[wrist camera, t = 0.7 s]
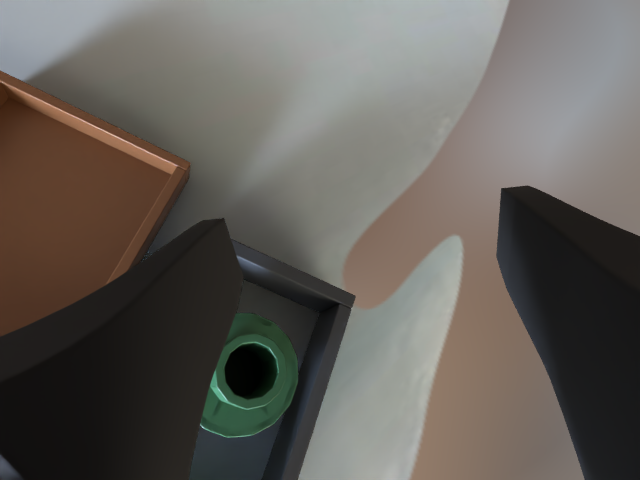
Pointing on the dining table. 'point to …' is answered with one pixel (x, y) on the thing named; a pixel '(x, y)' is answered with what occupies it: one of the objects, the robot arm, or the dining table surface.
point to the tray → (72, 202)
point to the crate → (317, 359)
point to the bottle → (251, 379)
